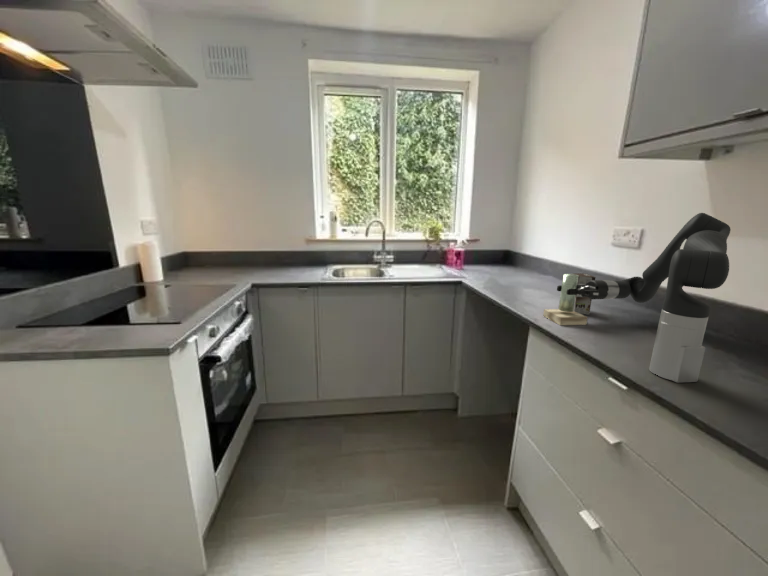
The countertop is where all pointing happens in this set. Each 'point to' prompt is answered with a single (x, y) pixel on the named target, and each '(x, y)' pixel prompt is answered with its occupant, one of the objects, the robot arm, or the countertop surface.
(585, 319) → the shelf stand
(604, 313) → the countertop surface
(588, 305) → the coffee box
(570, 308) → the pale green cylinder
